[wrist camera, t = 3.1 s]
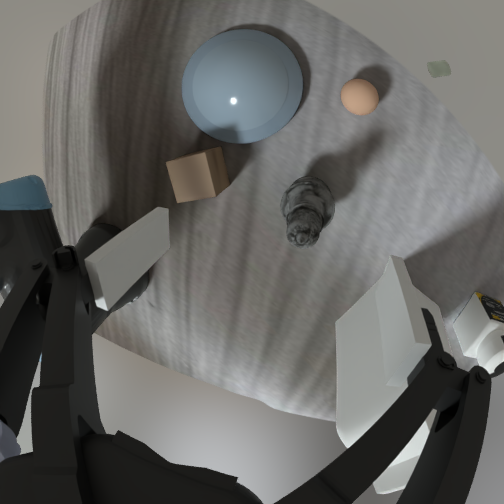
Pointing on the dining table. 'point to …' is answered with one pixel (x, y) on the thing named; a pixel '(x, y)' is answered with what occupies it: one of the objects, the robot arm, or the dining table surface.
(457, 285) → the dining table surface
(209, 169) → the walnut block
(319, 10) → the dining table surface
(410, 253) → the dining table surface
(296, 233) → the stone chess piece
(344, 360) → the milk
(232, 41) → the plate
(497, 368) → the medicine bottle
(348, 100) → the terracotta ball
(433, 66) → the pale green cup
